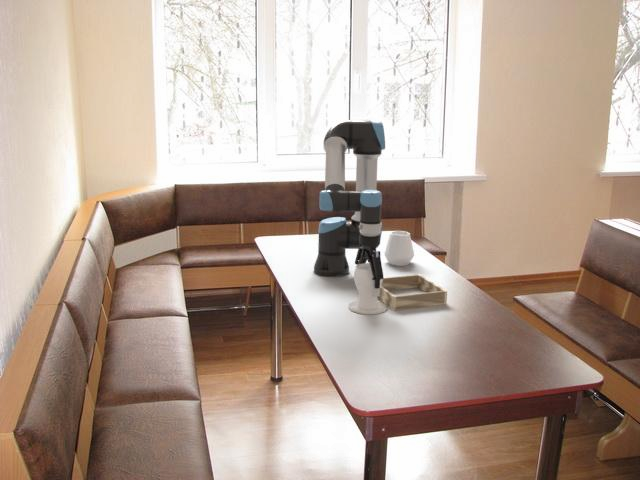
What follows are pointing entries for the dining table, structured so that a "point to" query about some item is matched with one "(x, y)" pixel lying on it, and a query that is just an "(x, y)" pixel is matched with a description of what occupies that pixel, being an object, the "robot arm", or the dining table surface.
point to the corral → (430, 298)
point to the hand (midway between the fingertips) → (368, 290)
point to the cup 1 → (365, 286)
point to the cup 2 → (399, 248)
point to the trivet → (378, 310)
